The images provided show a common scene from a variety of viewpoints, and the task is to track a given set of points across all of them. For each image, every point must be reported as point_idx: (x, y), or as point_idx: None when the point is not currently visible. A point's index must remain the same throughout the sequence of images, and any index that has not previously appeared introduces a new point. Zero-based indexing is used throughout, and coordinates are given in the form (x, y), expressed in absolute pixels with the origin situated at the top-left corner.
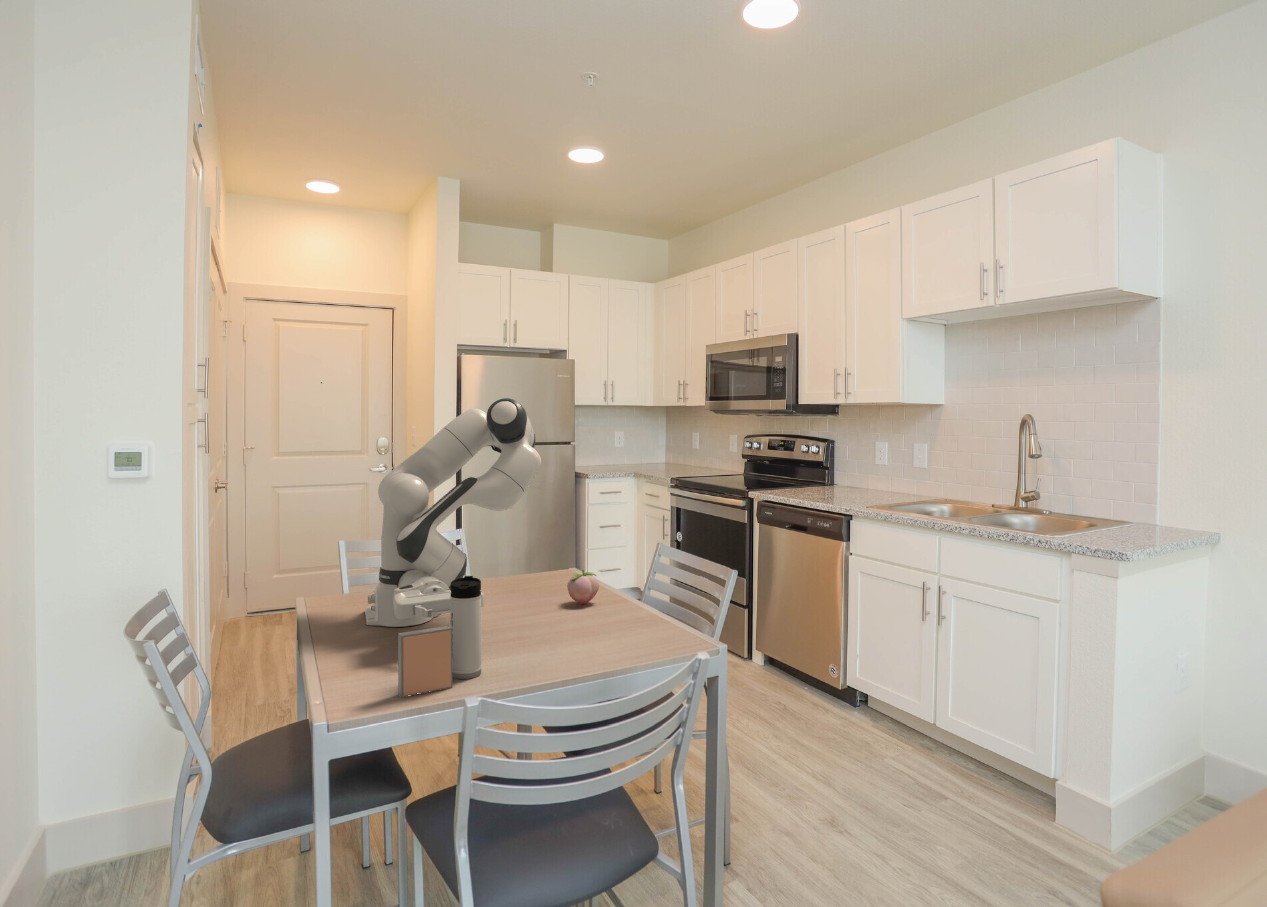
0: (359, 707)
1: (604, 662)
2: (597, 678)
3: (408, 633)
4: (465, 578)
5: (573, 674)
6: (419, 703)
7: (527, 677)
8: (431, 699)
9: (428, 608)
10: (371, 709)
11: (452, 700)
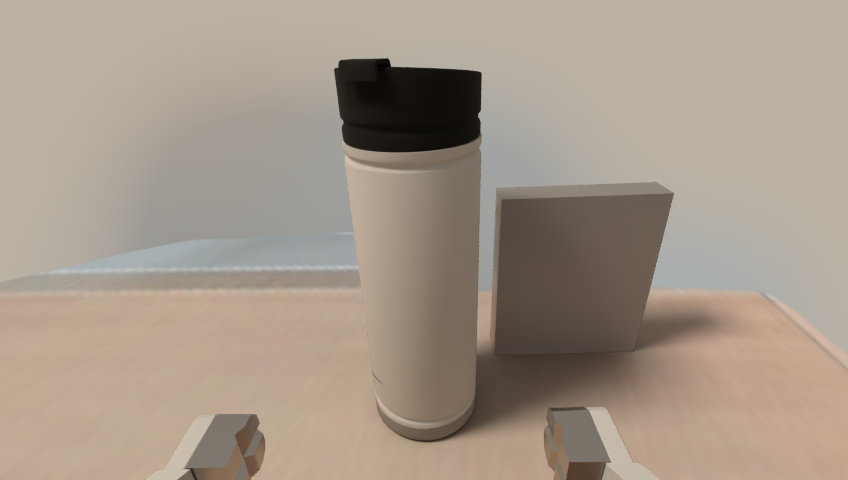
0: (720, 325)
1: (95, 323)
2: (210, 274)
3: (635, 187)
4: (384, 70)
5: (219, 300)
6: None
7: (305, 320)
8: None
9: (578, 440)
10: (683, 309)
11: None
